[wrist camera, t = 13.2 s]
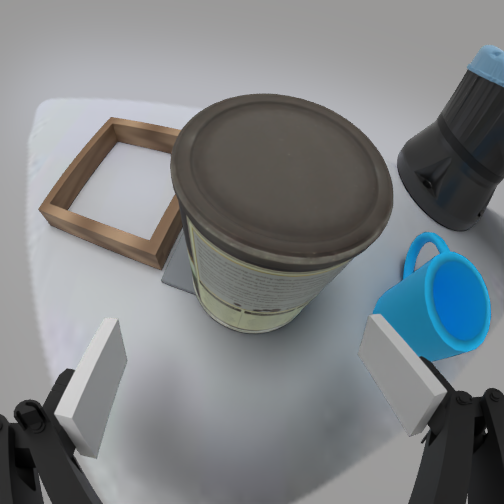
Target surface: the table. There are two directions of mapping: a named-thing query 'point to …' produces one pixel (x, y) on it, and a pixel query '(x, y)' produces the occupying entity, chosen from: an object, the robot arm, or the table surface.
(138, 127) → the crate
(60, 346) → the table surface
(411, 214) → the table surface
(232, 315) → the coffee can
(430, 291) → the mug
